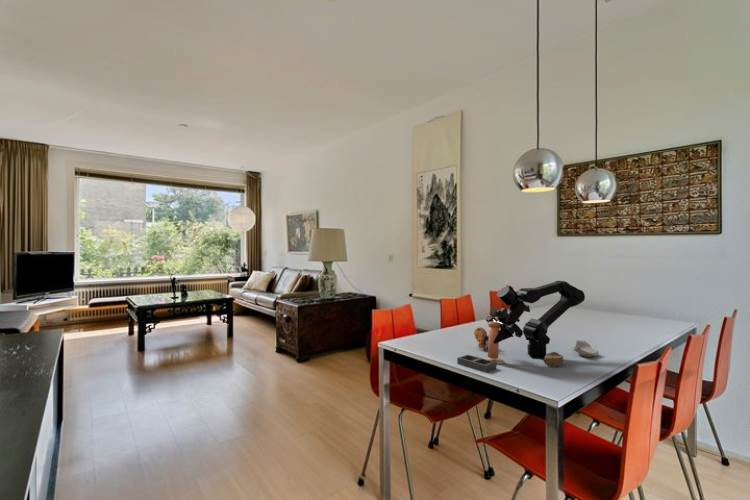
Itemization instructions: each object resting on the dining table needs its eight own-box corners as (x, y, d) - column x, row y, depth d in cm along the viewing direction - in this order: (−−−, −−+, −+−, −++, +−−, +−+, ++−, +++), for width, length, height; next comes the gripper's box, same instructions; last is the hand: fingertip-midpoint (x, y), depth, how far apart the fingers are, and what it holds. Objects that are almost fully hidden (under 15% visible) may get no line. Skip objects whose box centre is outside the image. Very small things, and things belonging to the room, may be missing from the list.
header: (467, 360, 151) (467, 354, 151) (496, 368, 141) (496, 362, 141) (457, 363, 147) (457, 357, 147) (485, 372, 137) (485, 365, 137)
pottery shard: (581, 359, 150) (581, 347, 150) (563, 352, 161) (563, 341, 161) (603, 357, 152) (603, 345, 152) (584, 350, 163) (583, 339, 163)
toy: (493, 340, 159) (481, 318, 170) (479, 345, 159) (467, 323, 171) (497, 356, 166) (485, 334, 177) (483, 361, 166) (472, 339, 178)
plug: (496, 355, 152) (498, 321, 152) (500, 359, 147) (502, 324, 147) (485, 355, 152) (486, 321, 152) (489, 358, 147) (490, 323, 147)
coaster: (501, 358, 153) (501, 357, 153) (506, 364, 145) (506, 363, 145) (482, 358, 154) (482, 357, 154) (486, 364, 146) (486, 363, 146)
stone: (538, 358, 155) (541, 347, 155) (557, 363, 153) (559, 352, 153) (542, 365, 142) (545, 352, 142) (563, 371, 140) (565, 358, 140)
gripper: (488, 297, 159) (466, 324, 156) (516, 303, 141) (491, 334, 139) (504, 313, 162) (483, 340, 159) (533, 322, 144) (509, 352, 141)
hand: (490, 341), depth 149 cm, fingers closed on plug, 4 cm apart
